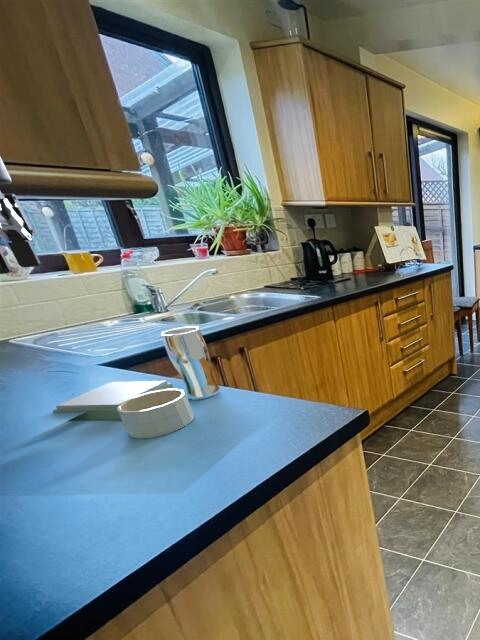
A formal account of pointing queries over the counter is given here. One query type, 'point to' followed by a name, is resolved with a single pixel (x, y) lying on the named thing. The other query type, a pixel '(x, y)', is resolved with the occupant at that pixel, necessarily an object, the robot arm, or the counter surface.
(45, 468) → the counter surface
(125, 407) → the bowl
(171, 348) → the beer glass
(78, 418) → the scale
